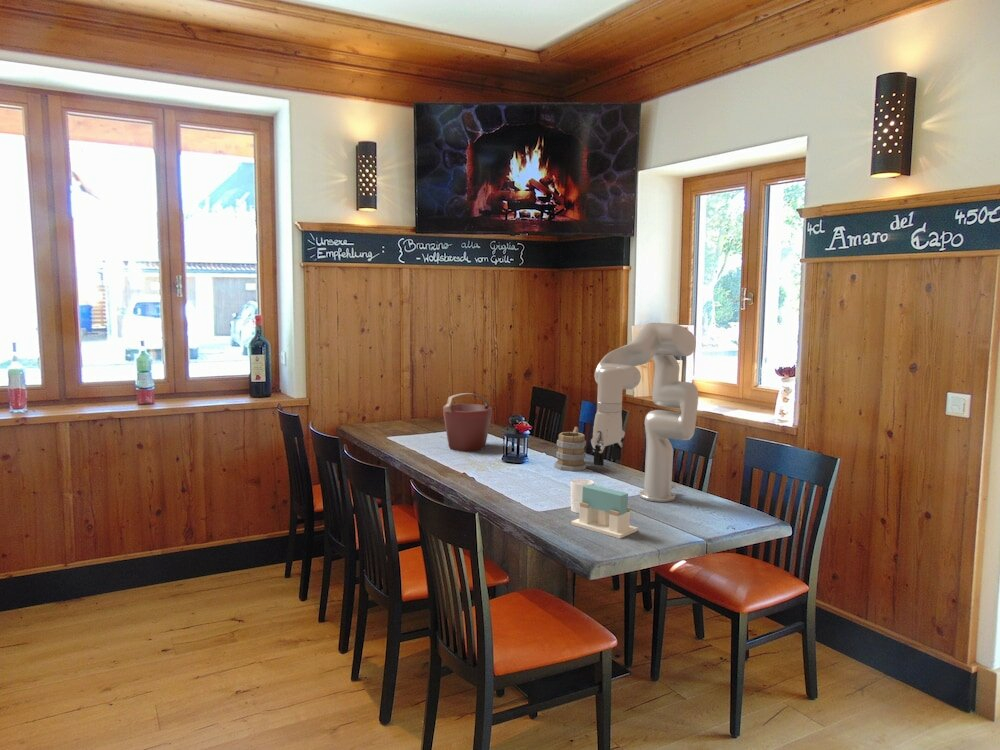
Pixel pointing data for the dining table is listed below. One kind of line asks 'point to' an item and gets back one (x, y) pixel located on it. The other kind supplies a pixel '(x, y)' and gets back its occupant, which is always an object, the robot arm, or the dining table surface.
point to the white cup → (578, 492)
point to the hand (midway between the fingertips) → (607, 462)
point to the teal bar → (605, 499)
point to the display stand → (604, 521)
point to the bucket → (467, 424)
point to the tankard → (571, 451)
